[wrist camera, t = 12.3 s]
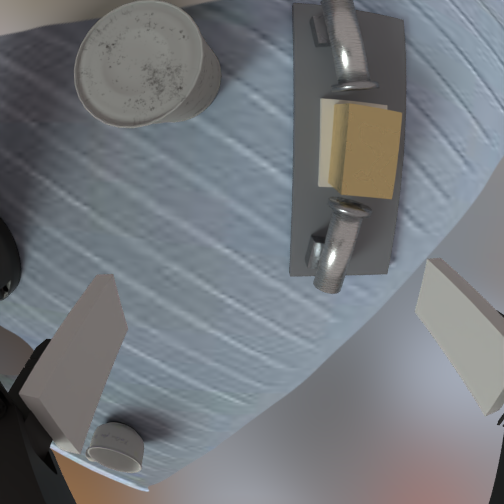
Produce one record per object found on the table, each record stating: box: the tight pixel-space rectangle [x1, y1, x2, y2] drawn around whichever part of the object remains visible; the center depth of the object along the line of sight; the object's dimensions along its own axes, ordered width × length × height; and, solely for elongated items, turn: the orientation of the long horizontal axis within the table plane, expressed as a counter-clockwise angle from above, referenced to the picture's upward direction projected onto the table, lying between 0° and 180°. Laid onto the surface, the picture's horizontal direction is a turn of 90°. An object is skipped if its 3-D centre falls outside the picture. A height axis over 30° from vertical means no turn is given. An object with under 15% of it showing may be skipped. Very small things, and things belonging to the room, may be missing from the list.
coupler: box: [328, 103, 402, 199], centre depth 27 cm, size 8×5×5 cm, turn 178°
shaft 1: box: [309, 0, 379, 92], centre depth 23 cm, size 9×4×6 cm, turn 10°
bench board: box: [289, 3, 406, 277], centre depth 31 cm, size 12×30×1 cm, turn 1°
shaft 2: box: [304, 196, 372, 294], centre depth 32 cm, size 9×4×6 cm, turn 170°
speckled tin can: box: [74, 0, 221, 128], centre depth 23 cm, size 10×10×12 cm
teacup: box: [86, 422, 144, 473], centre depth 49 cm, size 14×11×8 cm
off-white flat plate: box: [318, 98, 387, 187], centre depth 30 cm, size 7×9×1 cm
